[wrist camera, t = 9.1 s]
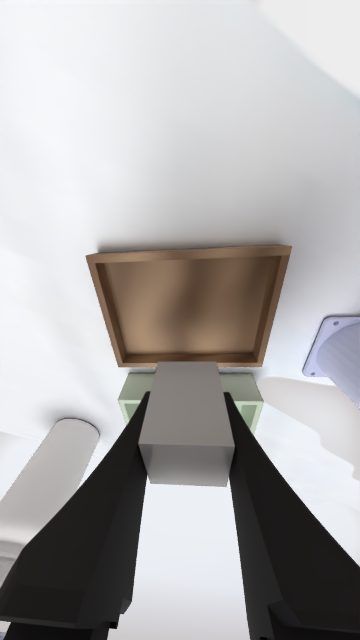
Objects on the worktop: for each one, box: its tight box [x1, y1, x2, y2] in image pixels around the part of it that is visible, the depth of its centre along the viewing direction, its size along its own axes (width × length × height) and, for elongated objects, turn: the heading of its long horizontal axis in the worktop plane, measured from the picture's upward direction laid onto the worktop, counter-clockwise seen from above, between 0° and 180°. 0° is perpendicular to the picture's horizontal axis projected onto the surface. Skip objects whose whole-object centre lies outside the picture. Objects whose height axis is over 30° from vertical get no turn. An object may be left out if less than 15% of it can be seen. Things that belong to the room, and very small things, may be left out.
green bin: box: [118, 373, 264, 435], centre depth 23 cm, size 16×12×4 cm
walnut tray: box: [86, 245, 292, 367], centre depth 16 cm, size 16×12×2 cm
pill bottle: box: [0, 419, 99, 588], centre depth 23 cm, size 8×8×15 cm
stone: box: [138, 362, 235, 487], centre depth 10 cm, size 4×4×5 cm
